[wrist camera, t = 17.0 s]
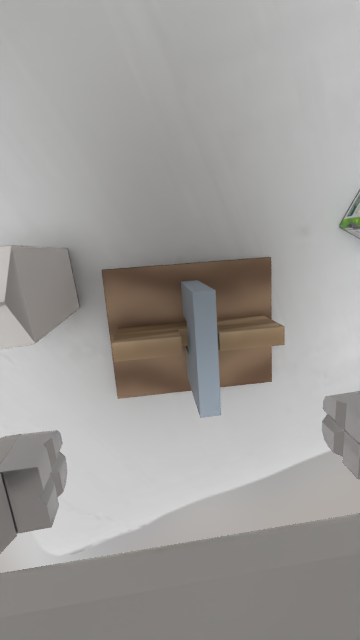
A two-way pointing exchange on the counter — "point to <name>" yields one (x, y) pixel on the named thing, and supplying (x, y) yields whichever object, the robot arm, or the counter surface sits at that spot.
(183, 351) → the rail stand
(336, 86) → the counter surface
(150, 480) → the counter surface
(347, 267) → the counter surface
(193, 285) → the slotted plate
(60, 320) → the milk carton
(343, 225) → the syrup box
